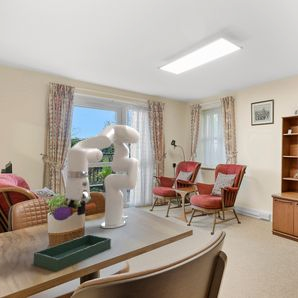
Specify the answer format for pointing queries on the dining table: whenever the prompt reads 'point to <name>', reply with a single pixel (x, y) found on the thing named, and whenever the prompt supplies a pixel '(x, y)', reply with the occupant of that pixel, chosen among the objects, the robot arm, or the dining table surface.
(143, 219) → the dining table surface
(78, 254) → the tray
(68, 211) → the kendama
